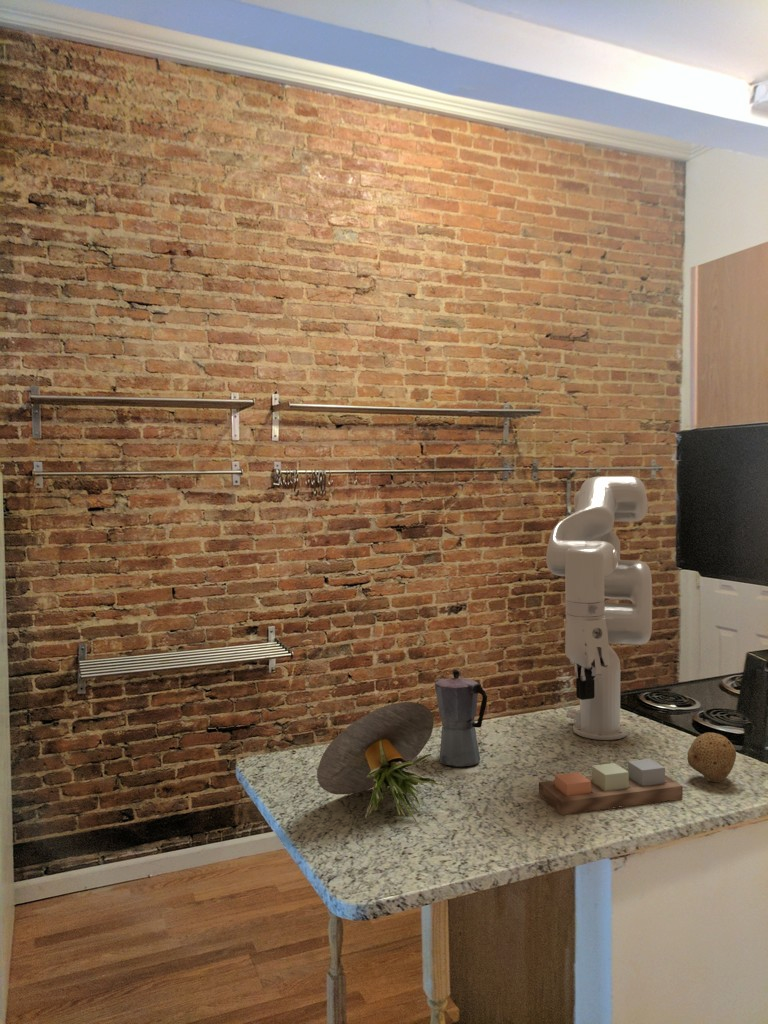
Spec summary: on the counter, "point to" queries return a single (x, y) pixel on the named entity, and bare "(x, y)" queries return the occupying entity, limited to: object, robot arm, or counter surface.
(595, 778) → the sage button
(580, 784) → the terracotta button
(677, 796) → the walnut panel
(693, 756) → the natural sponge
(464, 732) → the moka pot
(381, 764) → the potted plant
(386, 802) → the counter surface
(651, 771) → the slate button
